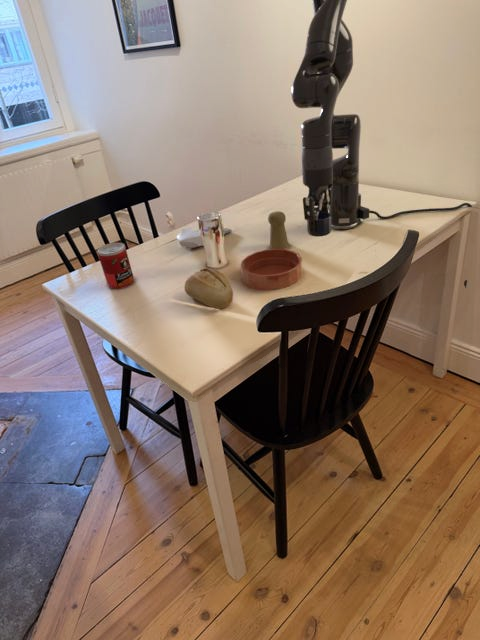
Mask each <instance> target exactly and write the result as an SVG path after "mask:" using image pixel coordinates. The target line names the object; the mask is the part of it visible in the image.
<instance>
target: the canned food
mask: <svg viewBox="0 0 480 640" xmlns="http://www.w3.org/2000/svg"><path fill="white" fill-rule="evenodd" d="M97 255H98V259H99V262H100V266H101V268H102V271H103V275H104V278H105V281H106V284H107V285H108V287H109V288H110V289H115V290H117V289H118V290H120V289H123V288H126V287H129V286H131V285H132V283H134V280H135V279H134V273H133V270H132V266H131V262H130V259H129V255H128V252H127V249H126V245H125V243H122V242H110V243H106V244H103V245H101V246H100V247H98V249H97Z"/></svg>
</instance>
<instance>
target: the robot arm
mask: <svg viewBox="0 0 480 640" xmlns="http://www.w3.org/2000/svg"><path fill="white" fill-rule="evenodd" d="M311 2H312V8H313V9H312V10H313V17H312V19H311V21H310V24H309V26H308V31H307V35H306V36H307V37H306V42H305V49H304V55H303V58H302V60H301V63H300V65H299V68H298V69H297V72H296V74H295V77H294V79H293V82H292V84H291V85H292V86H291V92H290V93H291V94H290V95H291V100H292V102H293V105H294V106H296V108H298V109H317V108H318V109H319V108H321V110H320V114H318V116H315V117H311V118H308V119H305V120H304V121H302V123H301V129H300V130H301V132H300V133H301V170H302V171H301V173H302V184H303V185H304V186H305V187H307V188H308V193H307V196H306V197H305V196H303V197H302V206H303V207H302V208H303V216H304V217H303V218H304V220H305V221H307V220H309V228H310V233H312V234H317V233H318V232H319V229H318V216H319V212H328V213H330V214H331V229H333V230H340V231H341V230H343V231H344V230H349V229H350V230H351V229H354V228H357V226H359V224H361V222H362V220H367V219H369V218H370V214H373V215H375V216H376V218H378V219H381V220H389V219H393V218H395V217H397V216H401V215H407V214H415V213H426V212H446V211H455V210H459V209H461V208H463V207H465V206H466V207H469V208H472V207H473V206H472V204H471V203H469V202H463V203H461V204H459V205H456V206H451V207H438V208H437V207H435V208H433V207H432V208H422V209H421V208H419V209H409V210H403V211H398V212H396V213H394V214H391V215H388V216H383V215H381V214H380V213H379V212H377V211H375V210H371V209H370V208H368V207H366V206H363V205H362V194H361V193H359V189H360V186H359V185H360V177H359V176H360V145H361V144H360V143H361V133H362V132H361V131H362V130H361V129H362V123H361V117H360V115H358V114H357V113H350V114H349V113H348V114H335V108H336V104H337V101H338V100H337V99H338V97H339V95H340V93H341V91H342V89H343V88H344V86H345V84H346V82H347V80H348V79H349V77H350V75H351V73H352V70H353V66H354V46H353V45H354V44H353V42H354V41H353V37H352V36H353V35H352V34H351V31H350V29H349V28H348V26H347V24H346V23H345V22H344V20H343V16H344V12H345V9H346V5H347V2H348V0H311ZM339 149H340V150H341V149H342V150H343V149H347V152H346V153H345V154H343V155H341V156H339V157H337V158H334V154H333V153H334V152H333V150H339ZM315 212H316V213H315ZM467 284H468V279H465V280H464V282H463V285H464V288H465V289H467Z"/></svg>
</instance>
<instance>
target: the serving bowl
mask: <svg viewBox="0 0 480 640" xmlns="http://www.w3.org/2000/svg"><path fill="white" fill-rule="evenodd" d="M240 270H241V271H240V272H241V278H242V280H243V281H242V282H243V283H244V284H245V285H246V286H248V287H249V288H253V289H256V290H259V291H261V290H262V291H274V290H281V289H285V288H288V287H291V286H292V285H294V284H296V283H298V282H299V281H300V280H301V279H302V278H303V273H304V271H303V257H302V256H301V255H300V254H299V253H298V252H296V251H294V250H290V249H287V248H285V249H270V248H268V249H263V250H259V251H255V252H253V253H251V254H248V255H247V256H246V257H244V258H243V259H242V261H241V263H240Z"/></svg>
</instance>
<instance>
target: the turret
mask: <svg viewBox="0 0 480 640" xmlns="http://www.w3.org/2000/svg"><path fill="white" fill-rule="evenodd" d="M231 232H232V229H231V228H227V227H226V228H224V235H227V234H229V233H231ZM176 239H177V241H178V243H179V245H180V246H182V247H186V248H189V249H195V248H197V247H204V245H203V243H202V240H201V237H200V232H199V229H192V228H184V229H182V230H180V232H179V233H178V235H176Z"/></svg>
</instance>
